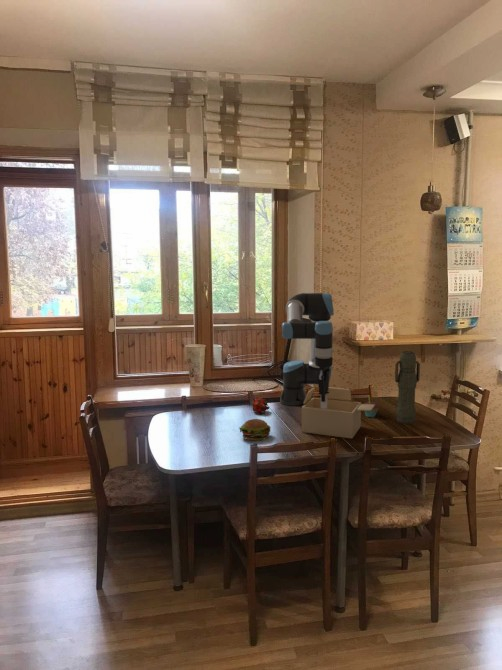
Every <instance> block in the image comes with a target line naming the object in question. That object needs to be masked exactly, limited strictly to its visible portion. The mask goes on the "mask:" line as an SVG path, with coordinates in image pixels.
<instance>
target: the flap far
mask: <svg viewBox="0 0 502 670" xmlns="http://www.w3.org/2000/svg"><path fill="white" fill-rule="evenodd" d="M327 392H329V394H328V393H326V394H327V399H332V400H341V401H351V402H352V394H351V388H342V387H333V386H331V387H329V390H328V391H327Z"/></svg>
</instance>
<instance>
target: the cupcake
mask: <svg viewBox="0 0 502 670" xmlns="http://www.w3.org/2000/svg"><path fill="white" fill-rule="evenodd" d="M363 404H375V406H374V407H373V409H372V410H371V411H364V413H365V416H366V418H367V417H368V418H375V417H376V415H377V412H378V411H379V410H380V406H379V404H377V403H376V402H374V401H371V394H368V401H367V402H366V401H365V402H364V403H363Z"/></svg>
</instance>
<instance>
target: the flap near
mask: <svg viewBox="0 0 502 670" xmlns="http://www.w3.org/2000/svg"><path fill="white" fill-rule="evenodd" d="M307 408H308V409H316V410H325V411H334V412H341V411H338V410H329V409H320V408H312V407H307Z"/></svg>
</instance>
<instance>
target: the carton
mask: <svg viewBox="0 0 502 670" xmlns="http://www.w3.org/2000/svg"><path fill="white" fill-rule="evenodd" d="M361 404H362V402H360V401H352V400H351V401H350V400H340V399H330V398H327V409H329V410H338V411H341V412H334V411H325V410H316V409H308V408H307V407H312V408H320V409H325V408H321V397H320V398H319V397H312V398H310V399H309V400H308V401H307V403H306V404H303V405H302V406H301V433H307V434H314V435H315V434H316V435H323V436H329V437H336V438H337V437H338V438H344V439H353V438H354V437H355V436H356V434H357V432H359V429H361V424H362V422H361V421H362V411H357V409H358V407H359V406H360V405H361Z"/></svg>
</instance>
